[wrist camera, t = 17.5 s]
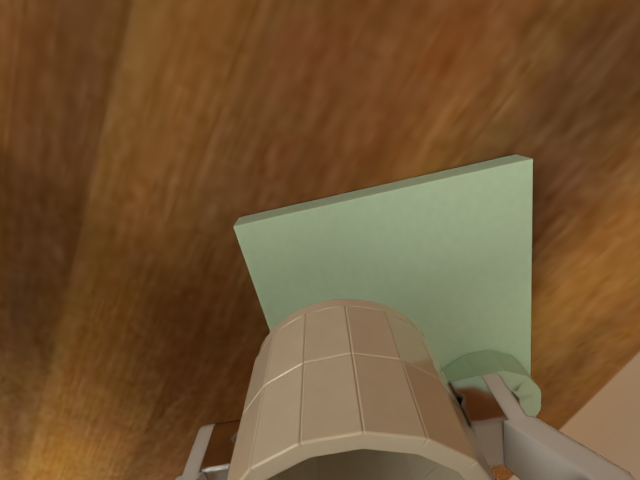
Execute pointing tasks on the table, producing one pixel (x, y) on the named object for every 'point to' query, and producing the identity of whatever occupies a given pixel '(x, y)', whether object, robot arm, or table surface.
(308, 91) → the table surface
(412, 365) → the beige cup
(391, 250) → the scale
